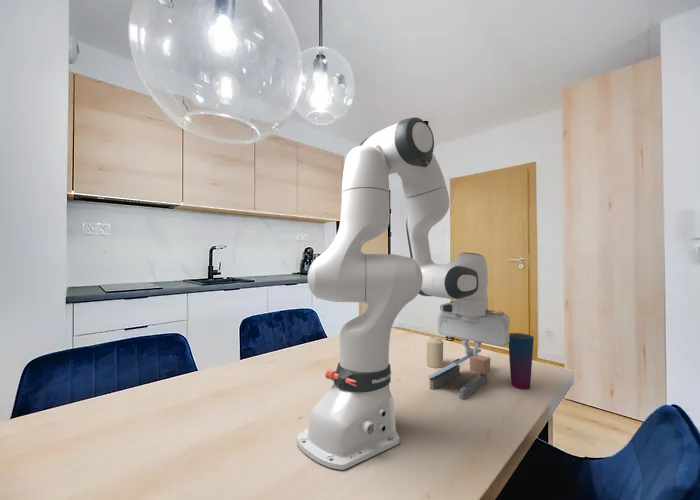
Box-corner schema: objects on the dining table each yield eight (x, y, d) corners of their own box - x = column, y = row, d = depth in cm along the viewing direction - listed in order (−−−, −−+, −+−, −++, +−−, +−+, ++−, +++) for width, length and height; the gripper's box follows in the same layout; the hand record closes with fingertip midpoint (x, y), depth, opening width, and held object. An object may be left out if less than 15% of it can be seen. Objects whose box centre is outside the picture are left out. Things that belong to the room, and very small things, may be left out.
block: (484, 374, 104) (484, 360, 104) (469, 370, 107) (469, 357, 107) (490, 370, 108) (490, 357, 108) (475, 367, 111) (475, 354, 111)
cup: (508, 379, 100) (508, 331, 100) (533, 384, 96) (533, 334, 96) (507, 387, 94) (507, 336, 94) (533, 392, 90) (533, 339, 91)
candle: (441, 363, 114) (441, 335, 115) (444, 368, 109) (444, 339, 109) (425, 362, 115) (426, 334, 115) (428, 367, 109) (428, 338, 110)
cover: (457, 366, 87) (453, 360, 87) (429, 380, 92) (426, 374, 93) (482, 351, 100) (479, 347, 101) (456, 364, 105) (453, 360, 106)
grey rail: (463, 399, 85) (463, 389, 85) (429, 388, 92) (429, 379, 92) (487, 380, 99) (487, 371, 99) (456, 372, 105) (456, 363, 105)
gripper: (513, 311, 89) (512, 360, 88) (444, 303, 103) (444, 346, 102) (505, 314, 84) (505, 366, 84) (435, 305, 98) (434, 350, 98)
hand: (471, 355), depth 93 cm, fingers closed
